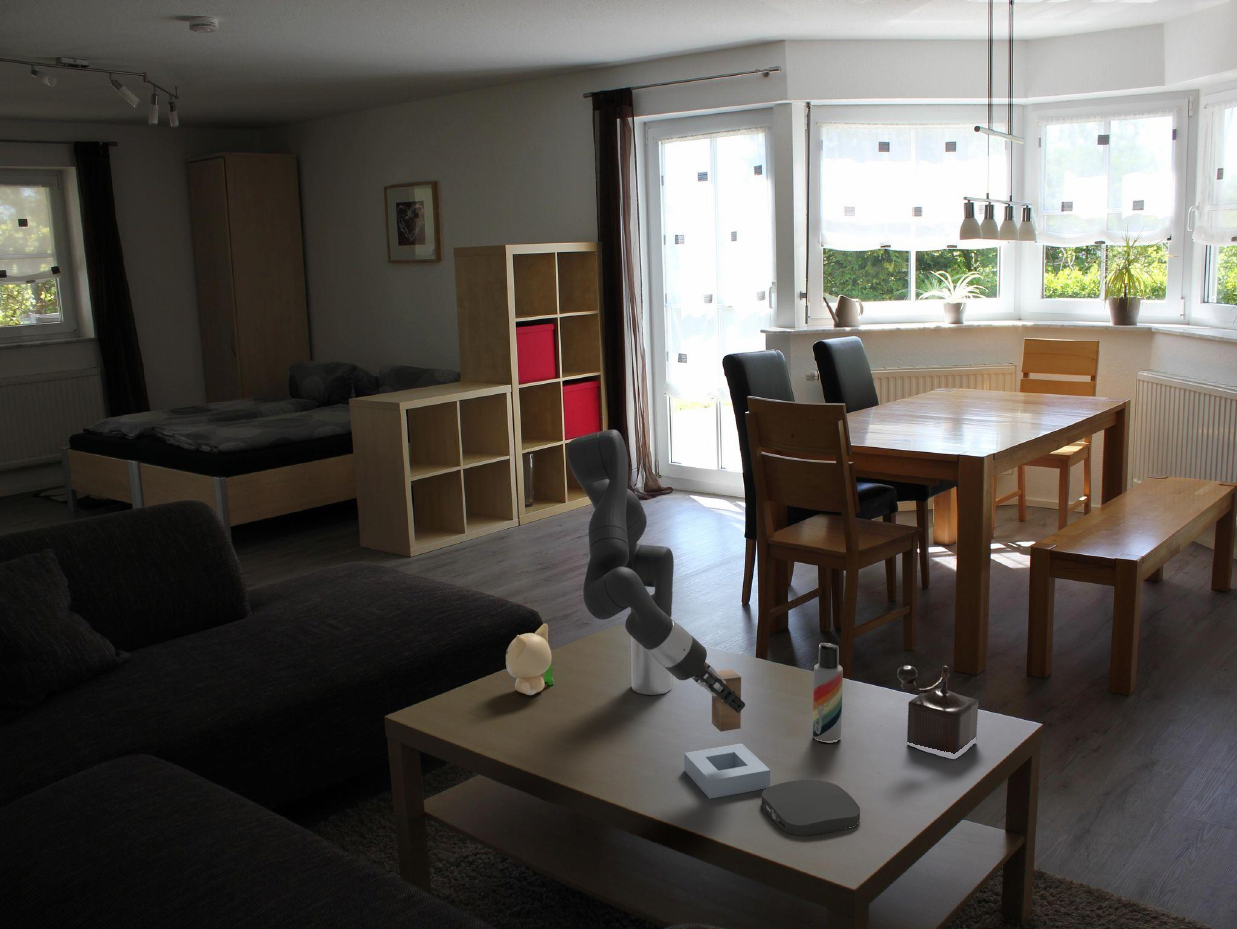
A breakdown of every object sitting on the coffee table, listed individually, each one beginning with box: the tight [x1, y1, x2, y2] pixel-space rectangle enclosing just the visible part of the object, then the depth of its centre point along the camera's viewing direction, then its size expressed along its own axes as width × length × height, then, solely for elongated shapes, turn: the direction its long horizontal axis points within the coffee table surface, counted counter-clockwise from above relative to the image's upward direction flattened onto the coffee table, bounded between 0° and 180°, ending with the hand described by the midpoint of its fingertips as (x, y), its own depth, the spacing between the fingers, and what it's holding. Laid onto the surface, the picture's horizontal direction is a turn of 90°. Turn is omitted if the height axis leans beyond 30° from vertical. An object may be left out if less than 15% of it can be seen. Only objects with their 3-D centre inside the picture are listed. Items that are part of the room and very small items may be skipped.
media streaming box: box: [761, 779, 861, 837], centre depth 187 cm, size 15×15×3 cm
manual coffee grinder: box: [896, 664, 979, 754], centre depth 209 cm, size 16×11×18 cm
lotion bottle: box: [812, 642, 844, 741], centre depth 214 cm, size 6×6×20 cm
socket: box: [683, 743, 771, 800], centre depth 199 cm, size 12×12×4 cm
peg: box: [711, 668, 742, 733], centre depth 197 cm, size 4×4×10 cm
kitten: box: [505, 623, 555, 696], centre depth 242 cm, size 15×10×15 cm
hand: (735, 703), depth 197 cm, fingers closed on peg, 4 cm apart
